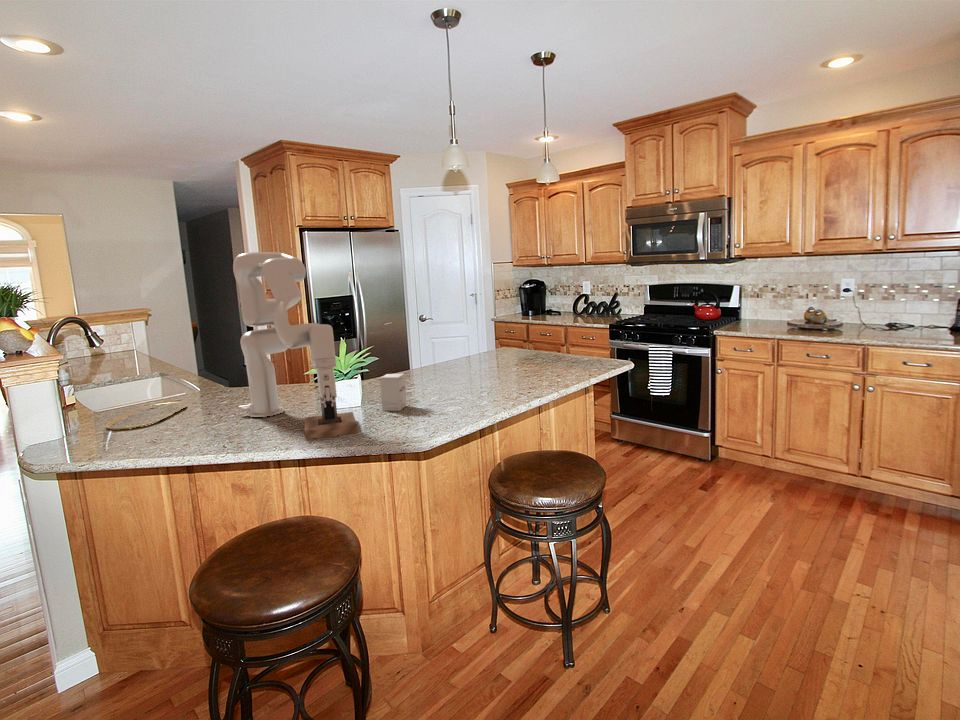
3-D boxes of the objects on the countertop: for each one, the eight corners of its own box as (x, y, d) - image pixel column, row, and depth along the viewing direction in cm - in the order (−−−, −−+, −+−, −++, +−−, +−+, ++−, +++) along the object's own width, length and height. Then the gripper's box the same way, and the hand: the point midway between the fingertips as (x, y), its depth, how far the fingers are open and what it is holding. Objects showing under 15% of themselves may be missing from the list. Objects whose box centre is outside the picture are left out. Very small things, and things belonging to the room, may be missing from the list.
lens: (322, 423, 173) (320, 399, 171) (322, 419, 177) (319, 396, 176) (338, 421, 174) (335, 397, 173) (337, 417, 179) (335, 394, 178)
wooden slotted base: (305, 440, 167) (304, 430, 166) (305, 426, 182) (304, 417, 181) (357, 432, 171) (356, 423, 171) (353, 420, 186) (352, 411, 186)
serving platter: (94, 433, 187) (93, 429, 187) (150, 407, 222) (149, 403, 221) (148, 430, 188) (147, 425, 188) (195, 404, 222) (195, 401, 222)
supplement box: (400, 411, 195) (398, 377, 193) (381, 410, 197) (378, 377, 195) (407, 405, 202) (404, 373, 200) (388, 405, 204) (386, 373, 202)
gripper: (337, 365, 166) (343, 422, 169) (334, 357, 182) (339, 409, 185) (312, 368, 163) (318, 425, 167) (311, 360, 179) (317, 412, 183)
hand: (329, 416), depth 176 cm, fingers closed on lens, 4 cm apart
